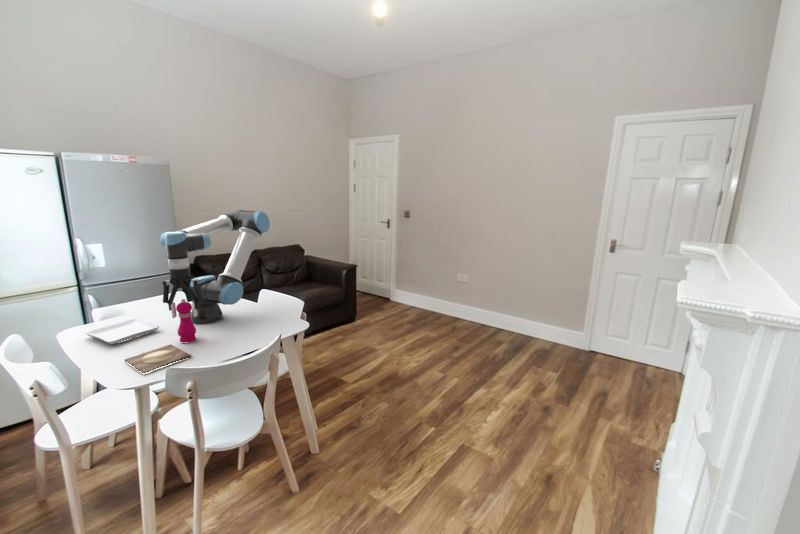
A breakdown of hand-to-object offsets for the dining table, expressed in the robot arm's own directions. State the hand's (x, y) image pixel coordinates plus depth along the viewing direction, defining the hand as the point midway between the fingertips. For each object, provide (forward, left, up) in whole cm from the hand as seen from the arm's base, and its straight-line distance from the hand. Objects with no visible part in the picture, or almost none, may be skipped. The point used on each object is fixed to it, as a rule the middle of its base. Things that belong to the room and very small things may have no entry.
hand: (185, 316), depth 157 cm
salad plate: (-30, -14, -12) cm, 35 cm away
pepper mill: (0, 0, -12) cm, 12 cm away
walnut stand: (+9, -16, -12) cm, 22 cm away
